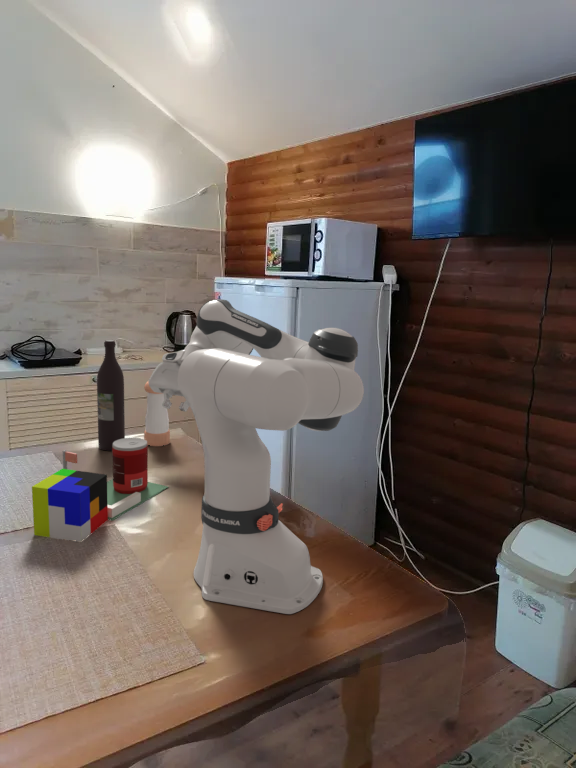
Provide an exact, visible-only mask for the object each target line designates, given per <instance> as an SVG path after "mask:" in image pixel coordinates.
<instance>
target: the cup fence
mask: <svg viewBox="0 0 576 768" xmlns="http://www.w3.org/2000/svg"><path fill="white" fill-rule="evenodd" d="M68 462H69V463H72V464H78V454H77V453H76V452H72V451H67V449H64V450H62V469H68ZM139 502H141V493H139V492H135V493H133V494H132V495H130V496H128V497H126V498H124V499H122V500H121V501H119V502H117V503H115V504H113V505H108V517H111V518H113V517H115V516H116V515H118V514H120V513H122V512H123V511H125V510H127V509H129V508H130V507H132V506H134V505H136V504H137V503H139Z"/></svg>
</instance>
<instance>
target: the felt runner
mask: <svg viewBox="0 0 576 768" xmlns="http://www.w3.org/2000/svg"><path fill="white" fill-rule="evenodd" d="M166 488H167V489H169V486H168V485H163V484H159V483H154V482H151V481H148V484H147V487H146V489H145V490H143V491H141V492H139V493H141V502H139V503H137V504H136V505H134V506H132V507H130V508H129V509H127V510H125V511H123V512H122V513H120V514H118V515H116V516H115V517H113V518H111V517H108V520H107V521H114V520H115V519H117V518H119V517H120V516H122V515H124V514H125V513H127V512H129V511H131V510H133V509H134V508H136V507H138V506H140V505H141V504H143V503H145V502H146V501H148V500H150V499H152V498H153V497H155V496H156V495H159V494H161V493H162V492H164V491H165V490H167V489H166ZM163 490H164V491H163ZM130 495H132V494H122V493H118V492H116V491H115V490H114V487H113V478H112V479H110V480H107V504H108V505H113V504H115V503H117V502H119V501H121V500H122V499H124V498H126V497H128V496H130Z"/></svg>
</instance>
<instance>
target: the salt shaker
mask: <svg viewBox="0 0 576 768" xmlns="http://www.w3.org/2000/svg"><path fill="white" fill-rule="evenodd" d="M148 382H149V380H147V381H146V383H145V384H144V388H143V389H144V391H145V392H146V394H147V395H146V397H147V398H146V399H147V400H146V413H145V418H144V423H145V430H144V431H143V439H144V440H146V441H147V444H148V445H150V446H149V447H162V446H163V445H164V446H167V445H169V444H170V443H171V431H170V428H169V423H170V419H169V412H168V409H167V408H164V407H163V406H162V403H163V401H164V393H158V392H154V391H153V390H152V389H151V388H150V386H149V383H148Z"/></svg>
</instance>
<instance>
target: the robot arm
mask: <svg viewBox="0 0 576 768" xmlns="http://www.w3.org/2000/svg"><path fill="white" fill-rule="evenodd" d="M196 316H197V317H196V326H195V328H194V330H193V331H192V333H191V336H190V339H189V343H188V344H187V345H186V346H185V347H184V349H181V350H178V351H174V352H167V353H164V354H163V355H162V358H161V360H162V361H161V362H160V363H159V364H157V366H156V367H155V368H154V370H153V372H152V373H151V375H150V377H149V379H148V381H149V382H148V381H147V382H148V383H149V386H150V388H151V389H152V390H153V391H154V392H158V393H164V401H163V403H162V406H163V407H164V408H167V410H169V409H170V408H171V407H172V406H173V405H172V404H173V403H172V401H171V400H170V399H171V398H172V397H173V396H177V397H183V398H184V399H185V401H183V402H182V401H181V402H180V405H179V406H178V409H179V410H180V411H181V412H188V409H189V408H190V409H191V412H192V414H193V417H194V420H195V423H196V426H197V429H198V434H199V437H200V442H201V444H202V452H203V459H204V465H203V466H204V494H203V495H202V499H201V510H200V512H201V514H200V517H201V518H200V519H201V524H202V533H201V540H200V541H201V542H200V547H199V551H198V556H197V560H196V563H195V566H194V569H193V577H194V580H195V582H196V583H197V584H198V586H199V587H200V588H201V597H202V598H203V599H204V600H206V601H211V602H216V603H222V604H227V605H231V606H232V605H233V606H238V607H244V608H251V609H256V610H262V611H268V612H274V613H278V614H279V613H280V614H284V615H293V614H295V613H298V612H300V611H301V610H303V609H305V608H307V607H308V606H309V605H311V604H312V602H313V601H314V600H315V599H316V598H317V597H318V594H320V592H321V590H322V587H323V585H324V584H323V583H324V579H323V578H324V577H323V572H322V571H321V569H319V568H318V567H315V566H313V565H312V564H311V557H310V553H309V549H308V546H307V545H306V543H304V542H303V541H302V540H301V539H300V538H299V537H298V536H297V535H295V534H294V533H293V532H292V530H290V529H289V528H288V527H287V526H286V525H285V524H284V523H283V522H282V521H281V520H279V515H280V513H281V512H282V511H283V505H284V503H282V502H281V503H280V504H279V505H277V506H276V504H274V502H273V499H272V496H271V494H270V493H271V492H270V491H271V474H272V473H271V472H272V470H271V468H272V459H271V454H270V451H269V449H268V447H267V446H266V444H265V443H264V442H263V441H262V439H261V437H260V436H259V434H258V432H257V429H259V430H267V431H283V432H284V431H288V430H291V429H292V428H294V427H296V425H297V424H299V425H301V426H303V427H305V428H306V429H308V430H311V431H314V432H329V431H331V430H333V429H336V428H337V426H338V425H339V423H340V421H341V419H342V416H345V415H347V414H349V413H352V412H353V411H355V410H356V409H357V408H358V407H359V406H360V404H361V402H362V401H363V399H364V394H365V393H364V392H365V389H364V388H365V387H364V383H363V380H362V378H361V376H360V375H359V374H358V372H356V371H355V367H356V360H357V359H356V358H357V357H358V356H359V355H358V354H359V353H358V352H359V345H358V342H357V339H356V338H355V337H354V336H353V335H351V334H350V333H348V331H346V330H343V329H341V328H339V327H325V328H318V329H317V330H315V331H313V333H312V335H311V336H310V339H309V341H306V340H304V339H302V338H298V337H296V336H295V335H294V336H293V335H292V334H289V333H287V332H285V331H283V330H281V329H279V328H277V327H275V326H273V325H272V324H269V323H267V322H265V321H263V320H260V319H259V318H256V317H254V316H251V315H250V314H247V313H244V312H242V311H240V310H237V309H236V308H234V307H233V305H232V304H231V303H230V301H229V300H227V299H220V298H218V299H217V298H215V299H211V300H208V301H207V302H205V303H204V304H203V305H201V307H200V309H199V310H198V313H197V315H196ZM253 350H255V352H256V353H257V354H258V355H259V356H257V355H252V352H253Z"/></svg>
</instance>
